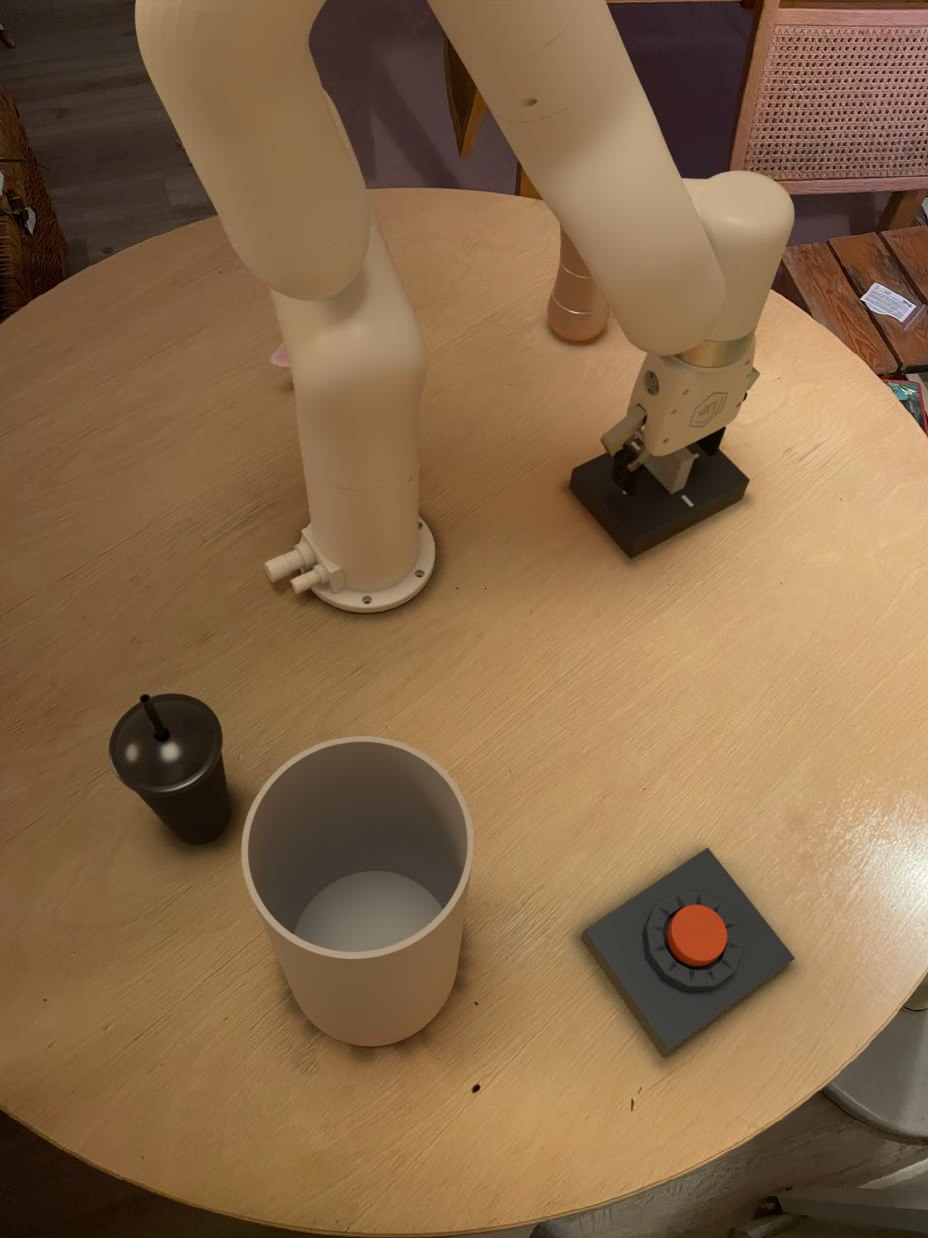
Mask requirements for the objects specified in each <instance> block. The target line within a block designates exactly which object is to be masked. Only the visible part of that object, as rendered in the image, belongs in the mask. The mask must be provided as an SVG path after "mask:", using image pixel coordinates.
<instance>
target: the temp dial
mask: <svg viewBox="0 0 928 1238" xmlns="http://www.w3.org/2000/svg"><path fill="white" fill-rule="evenodd" d="M693 460H694V455H693V454H692V453H691V452H690V451H689V450H688V449H687V448H686V447H683V448H681V449H679V450H677V451H675V452H673V453H670V454H668V455H665V456H653V455H652V454H651V453H650V454H649V456H648V457H647V458H646V459H645V460H644V461H643V464H644V465H645V466H646V468H647V469H648V470H649V471H650V472H651V473H652V474H653V475H654V476H655V477H656V478H657V479H658V480H659V482H660V483H661V484H662V485H663V486H664V487H665V488H666V489H667V490H668V491H669V492H670V493H671V494H673V493H675V492H677V491H679V490H681V489H683V488H684V487H685V484H686V481H687V478H688V475H689V472H690V469H691V466H692V463H693Z"/></svg>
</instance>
